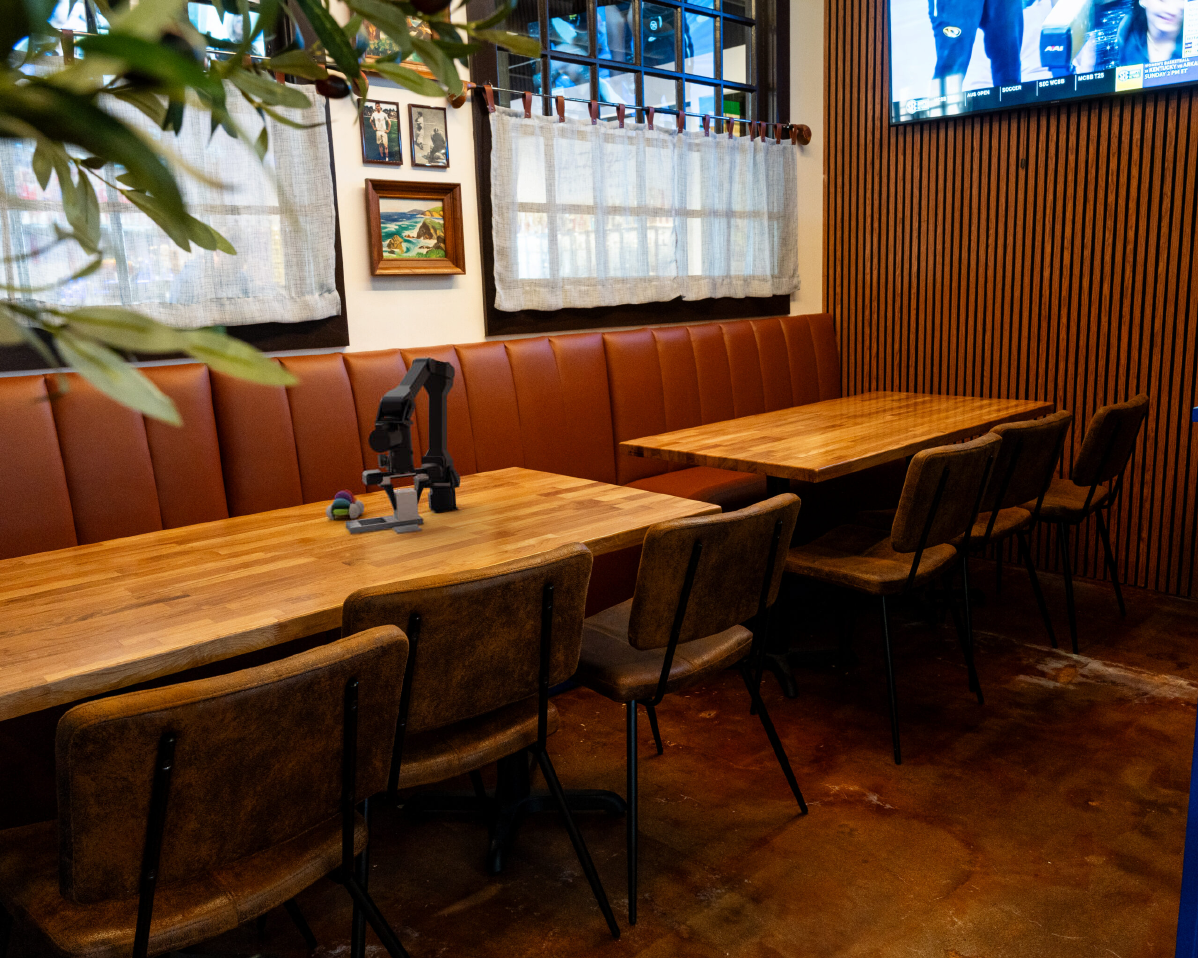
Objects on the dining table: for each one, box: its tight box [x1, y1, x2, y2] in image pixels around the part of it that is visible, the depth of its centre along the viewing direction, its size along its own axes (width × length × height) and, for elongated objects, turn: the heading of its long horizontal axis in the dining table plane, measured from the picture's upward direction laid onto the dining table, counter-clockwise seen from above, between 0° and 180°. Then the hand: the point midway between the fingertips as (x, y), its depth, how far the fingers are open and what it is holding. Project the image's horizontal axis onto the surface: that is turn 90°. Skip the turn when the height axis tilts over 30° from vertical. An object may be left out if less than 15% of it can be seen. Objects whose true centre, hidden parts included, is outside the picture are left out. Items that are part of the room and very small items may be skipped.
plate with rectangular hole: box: [344, 514, 424, 535], centre depth 249 cm, size 18×8×2 cm, turn 114°
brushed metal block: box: [392, 487, 420, 522], centre depth 243 cm, size 5×5×7 cm
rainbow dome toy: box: [325, 489, 365, 520], centre depth 260 cm, size 8×10×7 cm
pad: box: [391, 524, 423, 534], centre depth 244 cm, size 6×6×1 cm
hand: (405, 508), depth 243 cm, fingers closed on brushed metal block, 5 cm apart
